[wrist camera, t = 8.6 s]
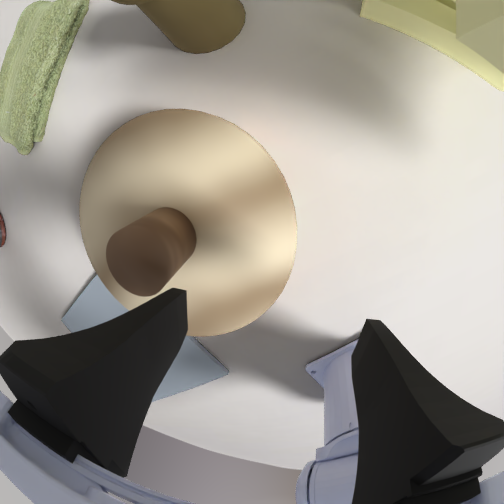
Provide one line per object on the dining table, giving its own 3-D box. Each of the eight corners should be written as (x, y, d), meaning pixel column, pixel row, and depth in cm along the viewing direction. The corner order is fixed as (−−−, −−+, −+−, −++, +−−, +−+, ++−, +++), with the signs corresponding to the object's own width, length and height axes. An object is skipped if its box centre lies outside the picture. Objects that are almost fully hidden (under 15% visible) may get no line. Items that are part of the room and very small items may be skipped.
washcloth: (-3, 129, 21) (-20, 132, 18) (42, 4, 13) (25, 0, 10) (43, 156, 21) (21, 161, 18) (104, -2, 14) (84, -11, 11)
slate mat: (229, 371, 26) (228, 374, 26) (146, 401, 32) (145, 403, 32) (116, 252, 23) (113, 254, 23) (63, 318, 29) (61, 320, 28)
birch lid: (343, 269, 16) (357, 315, 12) (172, 352, 21) (148, 394, 17) (196, 60, 12) (157, 35, 8) (60, 207, 18) (16, 227, 13)
